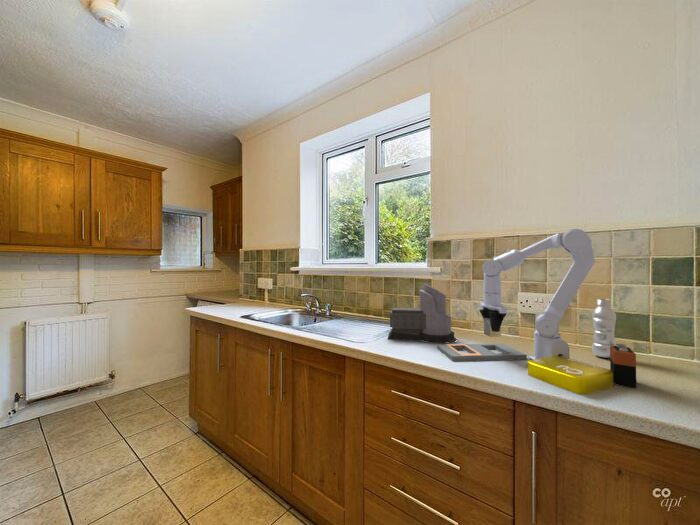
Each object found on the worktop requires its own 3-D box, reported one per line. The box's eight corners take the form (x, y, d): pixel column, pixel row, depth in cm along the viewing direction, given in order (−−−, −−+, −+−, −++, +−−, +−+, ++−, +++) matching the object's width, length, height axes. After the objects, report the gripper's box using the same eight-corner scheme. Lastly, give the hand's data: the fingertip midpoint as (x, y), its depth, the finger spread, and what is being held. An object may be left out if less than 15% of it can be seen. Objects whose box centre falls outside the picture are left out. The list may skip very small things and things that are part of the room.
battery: (631, 380, 78) (630, 344, 78) (637, 389, 72) (636, 350, 72) (610, 376, 80) (609, 341, 80) (613, 384, 75) (613, 347, 75)
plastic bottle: (609, 355, 99) (608, 298, 100) (622, 361, 93) (621, 301, 93) (587, 353, 101) (587, 298, 101) (598, 359, 95) (598, 300, 95)
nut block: (500, 336, 100) (500, 319, 100) (490, 336, 100) (489, 319, 100) (494, 333, 104) (494, 317, 104) (484, 333, 104) (484, 317, 104)
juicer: (453, 334, 130) (453, 282, 130) (460, 344, 114) (460, 284, 115) (388, 332, 136) (388, 281, 136) (386, 341, 120) (386, 283, 120)
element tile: (617, 387, 74) (617, 369, 74) (582, 397, 69) (581, 377, 69) (557, 368, 88) (557, 353, 88) (524, 375, 83) (524, 359, 83)
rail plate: (526, 359, 95) (526, 354, 96) (452, 360, 94) (452, 355, 94) (502, 347, 109) (502, 342, 109) (437, 348, 108) (437, 344, 108)
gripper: (471, 291, 109) (472, 325, 109) (492, 295, 95) (492, 335, 95) (489, 291, 110) (489, 325, 110) (512, 294, 95) (513, 334, 95)
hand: (492, 330), depth 102 cm, fingers closed on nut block, 4 cm apart
